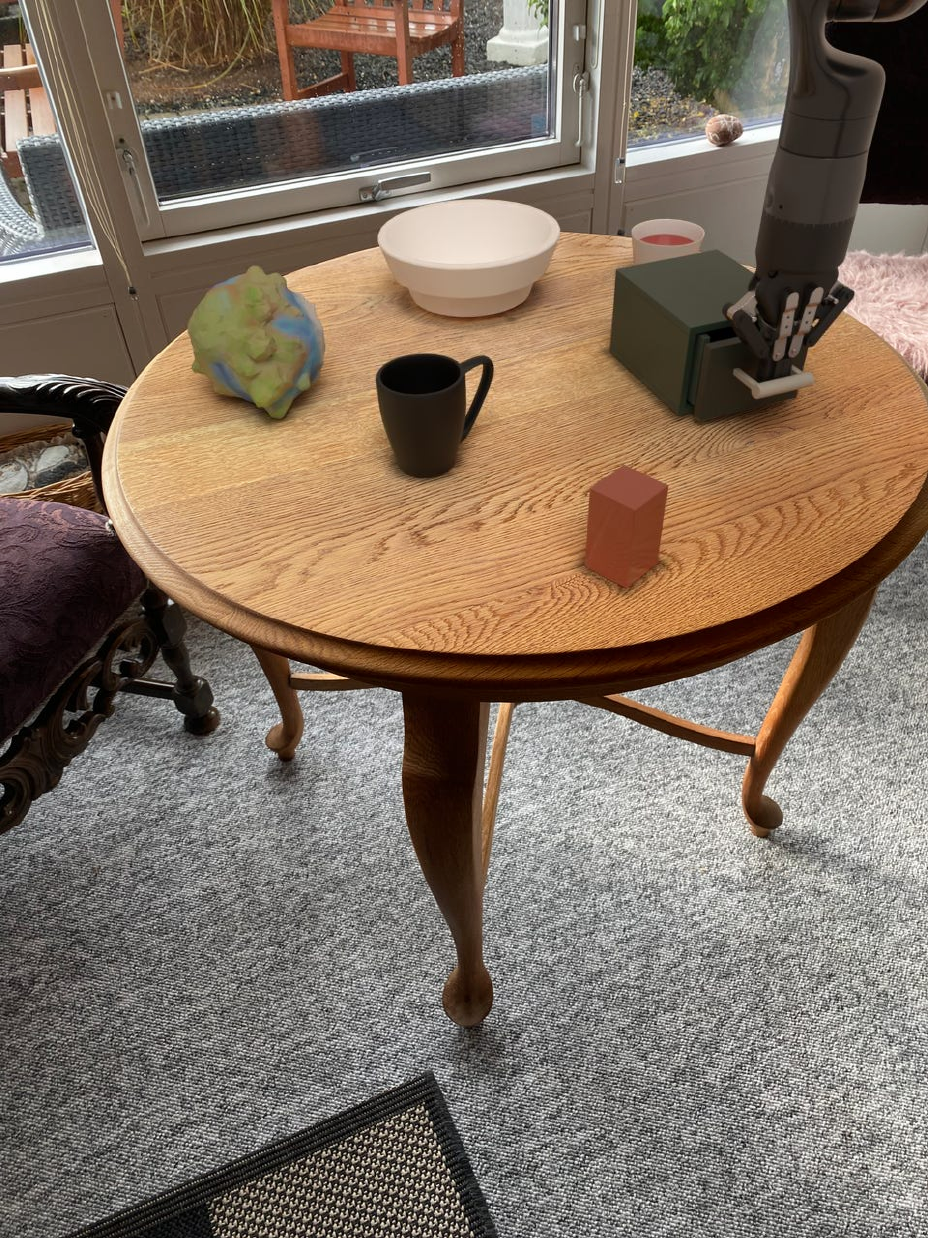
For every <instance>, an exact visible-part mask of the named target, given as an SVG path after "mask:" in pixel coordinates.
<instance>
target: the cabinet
mask: <svg viewBox="0 0 928 1238" xmlns="http://www.w3.org/2000/svg"><path fill="white" fill-rule="evenodd" d="M754 273H755V272H753V271H751V270H750V269H749V268H747V267H746V266H745V265H742V264H741V263H740V262H737V261H736V260H735V259H733V258H732V257H730V256H729V255H727V254H725V253H724V252H722V251H721V250H719V249H718V248H715V249H711V250H707V251H702V252H699V253H696V254H691V255H685V256H680V257H675V258H670V259H665V260H660V261H655V262H649V263H644V264H639V265H634V264H633V265H630V266H624V267H620V268H619V267H618V268H616V269H615V274H614V275H615V276H614V286H613V287H614V288H613V300H612V314H611V325H610V337H609V349H608V352H609V353H610V354H611V355H612V356H613V357H614V358H615V359H617V360H618V361H619V362H620V364H622V365H623V366H624V367H625V368H626V369H627V370H628V371H629V372H630V373H631V374H632V375H634V376H635V377H636V378H637V379H638V380H639V381H640V382H641V383H642V384H643V385H644V386H645V387H646V388H647V389H649V390H650V391H651V392H652V393H653V394H654V395H655V396H656V398H658V399H659V400H660V401H661V402H662V403H663V404H664V405H665V406H667V407H668V408H669V409H670V411H672V412H673V413H674V414H675V415H676V416H677V417H680V416H684V415H687V414H694V411H695V405H692V404H691V403H690V402H689V401H688V400H687V393H688V386H689V380H690V373H691V366H692V359H693V352H694V346H695V339H696V334H699V333H703V332H708V331H712V330H717V329H722V328H726V327H731V325H730V324H729V322H728V321H727V319H726V318H725V316H724V314H723V313H722V309H723V306H724V305H725V304H726V303H728V302H732V303H734V304H736V303H737V302H738V301H739V300H740V299H741V298H742V297H743V296H744V295H746V294H747V293H748V284H749V282H750V280H751V278H752V277H753V275H754ZM755 312H756V316H755V317H756V318H757V320H756V321H758V320H759V312H758V310H757V308H756V306H755Z"/></svg>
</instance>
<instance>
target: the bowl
mask: <svg viewBox="0 0 928 1238" xmlns="http://www.w3.org/2000/svg"><path fill="white" fill-rule="evenodd" d="M560 237H561V228H560V225H559V223H558V221H557V220H556V219H555V218H554V217H553V216H552V215H551V214H549V213H547V212H546V211H544V210H542V209H540V208H536V207H534V206H532V205H528V204H525V203H519V202H514V201H508V200H501V199H484V198H483V199H482V198H481V199H475V198H473V199H457V200H455V199H454V200H447V201H440V202H433V203H430V204H425V205H421V206H418V207H415V208H411V209H408V210H406V211H404V212H401V213H399V214H397V215H395V216H393V217H391V219H390V218H389V220H387V221H386V222H385V223H384V224H383V225H382V226H381V227H380V229H379V231H378V234H377V244H378V246H379V249H380V251H381V253H382V255H383V258H384V260H385V262H386V264H387V266H388V268H389V271H390V273H391V275H392V277H393V278H394V280H395V281H396V282H398V283H399V284H400V285H401V286H403V287H405V288H407V290H408V292H409V294H410V297H411V298H412V300H413V302H414V303H415V304H416V305H417V306H418V307H420V308H421V309H423V310H425V311H427V312H430V313H434V314H437V315H440V316H441V315H442V316H446V317H457V318H475V317H485V316H490V315H496V314H500V313H504V312H506V311H509V310H511V309H514V308H515V307H517V306H520V305H521V304H522V303H523V302H524V301H526V300H527V298H528V297H529V295H530V293H531V290H532V288H533V285H534V283H535V282H538V280H540V279H541V278H542V277H543V276H544V275H546V272H547V270H548V269H549V266H550V264H551V261H552V258H553V256H554V252H555V251H556V247H557V245H558V243H559V239H560Z"/></svg>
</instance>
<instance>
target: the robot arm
mask: <svg viewBox="0 0 928 1238" xmlns="http://www.w3.org/2000/svg"><path fill="white" fill-rule="evenodd" d="M927 2H928V0H786V7H787V17H788V30H789V71H788V83H787V91H786V98H785V103H784V109H783V114H782V119H781V125H780V131H779V136H778V141H777V146H776V150H775V153H774V156H773V159H772V163H771V167H770V168H769V169H770V170H769V172H768V177H767V183H766V189H765V194H764V199H763V205H762V210H761V216H760V220H759V221H760V222H759V225H758V226H759V228H758V231H757V237H756V243H755V249H754V256H755V271H754V272H753V273H754V275H753V277H752V278H751V280H750V282H749V284H748V293H747V294H746V295H744V296H743V297H742V298H741V299H740V300H739V301H738V302H737V303H736V304H734V303H732V302H728V303H726V304H725V305H724V306H723V309H722V313H723V314H724V316H725V318H726V319H727V321H728V322H729V324H730V325H731V327H732V328H733V330H734V332H735V333H736V335H737V336H738V338H739V339H740V341H741V342H742V344H743V346H744V347H746V348H747V349H748V350H750V351H751V352H752V353H753V354H755V355H756V356H757V357H759V362H758V367H757V372H756V377H755V381H756V382H757V383H762V382H766V381H770V380H775V379H779V378H783V377H787V376H790V372H791V368H792V363H793V359H794V357H795V356H796V355H797V354H798V353H799V351H800V349H801V348H803V347H805V346H807V347H809V348H813V347H814V346H815V345H816V344H817V343H818V342H819V341H820V340H821V338H822V337H823V336H824V335H825V333H826V332H827V330H829V329H830V327H831V326H832V324H833V323H834V322H836V320H837V319H838V317H839V316H840V315H841V314H842V313H843V311H845V309H846V308H847V307H848V305H850V303H851V302H852V301H853V299H854V298H855V294H856V292H855V290H853V289H851V288H850V287H849V286H848V285H845V284H844V283H842V282H841V281H840V280H838V279H839V276H840V270H839V267H841V265H842V264H843V263H844V261H845V259H846V256H847V251H848V247H849V244H850V239H851V235H852V232H853V227H854V224H855V219H856V216H857V212H858V208H859V204H860V200H861V196H862V192H863V188H864V184H865V180H866V175H867V174H866V173H867V166H868V165H867V164H868V156H869V152H870V147H871V143H872V138H873V135H874V131H875V127H876V123H877V119H878V114H879V111H880V108H881V104H882V99H883V95H884V91H885V86H886V85H885V84H886V72H885V70H884V67H883V66H882V65H881V64H880V63H878V62H877V61H875V60H873V59H871V58H867V57H865V56H861V55H857V54H853V53H848V52H845V51H842V50H840V49H837V48H835V47H833V46H832V45H831V44H830V43H829V42H828V40H827V38H826V34H825V33H826V32H825V29H826V28H825V27H826V23H831V22H834V23H841V22H842V23H849V22H850V23H855V22H856V23H864V22H865V23H869V22H871V23H887V22H888V23H889V22H896V21H900V20H903V19H905V18H907V17H909V16H911V15H913V14H914V13H916V12H917V11H918V10H920V9H921V8H922V7H923V6H924V5H925V4H926V3H927ZM755 306H756V308H757V310H758V312H759V320H758V325H759V327H760V332H759V331H758V329H757V328H756V326H755V324H754V323H753V322H755V321H756V320H757V318H756V317H755V316H756V312H755ZM817 320H818V321H817ZM815 321H817V322H816V323H815ZM814 323H815V325H813V324H814ZM811 325H812V326H814V327H813V328H812V330H811V331H810V328H811ZM809 348H808V349H809Z"/></svg>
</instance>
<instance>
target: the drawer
mask: <svg viewBox="0 0 928 1238" xmlns="http://www.w3.org/2000/svg"><path fill="white" fill-rule="evenodd" d="M753 323H754V324H755V326H756V328H757V329H758V331H759V332H760V327H759V325H758V321H755V322H753ZM814 326H815V325H813V324H812V325H811V328H810V331H811V330H812V328H813V327H814ZM808 352H809V347H807V346H805V347H803V348H801V349H800V351H799V353H798V354H797V355H796V356H795V357H794V359H793V363H792V368H791V372H790V376H787V377H783V378H779V379H775V380H770V381H766V382H762V383H757V382H756V381H755V377H756V372H757V367H758V362H759V357H757V356H756V355H755V354H753V353H752V352H751V351H750V350H748V349H747V348H746V347H744V346H743V344H742V342H741V341H740V339H739V338H738V336H737V335H736V333H735V332H734V330H733V328H732V327H726V328H722V329H717V330H712V331H708V332H703V333H699V334H696V339H695V346H694V352H693V359H692V366H691V373H690V380H689V386H688V393H687V400H688V401H689V402H690V403H691V404H692V405H695V411H694V412H693V416H694V418H696V419H697V420H698V421H699V422H702V421H706V420H710V419H715V418H720V417H724V416H728V415H732V414H736V413H739V412H744V411H748V410H751V409H756V408H760V407H761V408H762V407H765V406H769V405H773V404H777V403H781V402H784V401H785V402H786V401H789V400H793V399H797V397H798V393H799V390H801V389H805V388H809V387H812V386H813V385H814V383H815V376H814V373H813V372H811V371H805V372H804V369H805V365H806V361H807V356H808Z"/></svg>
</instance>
